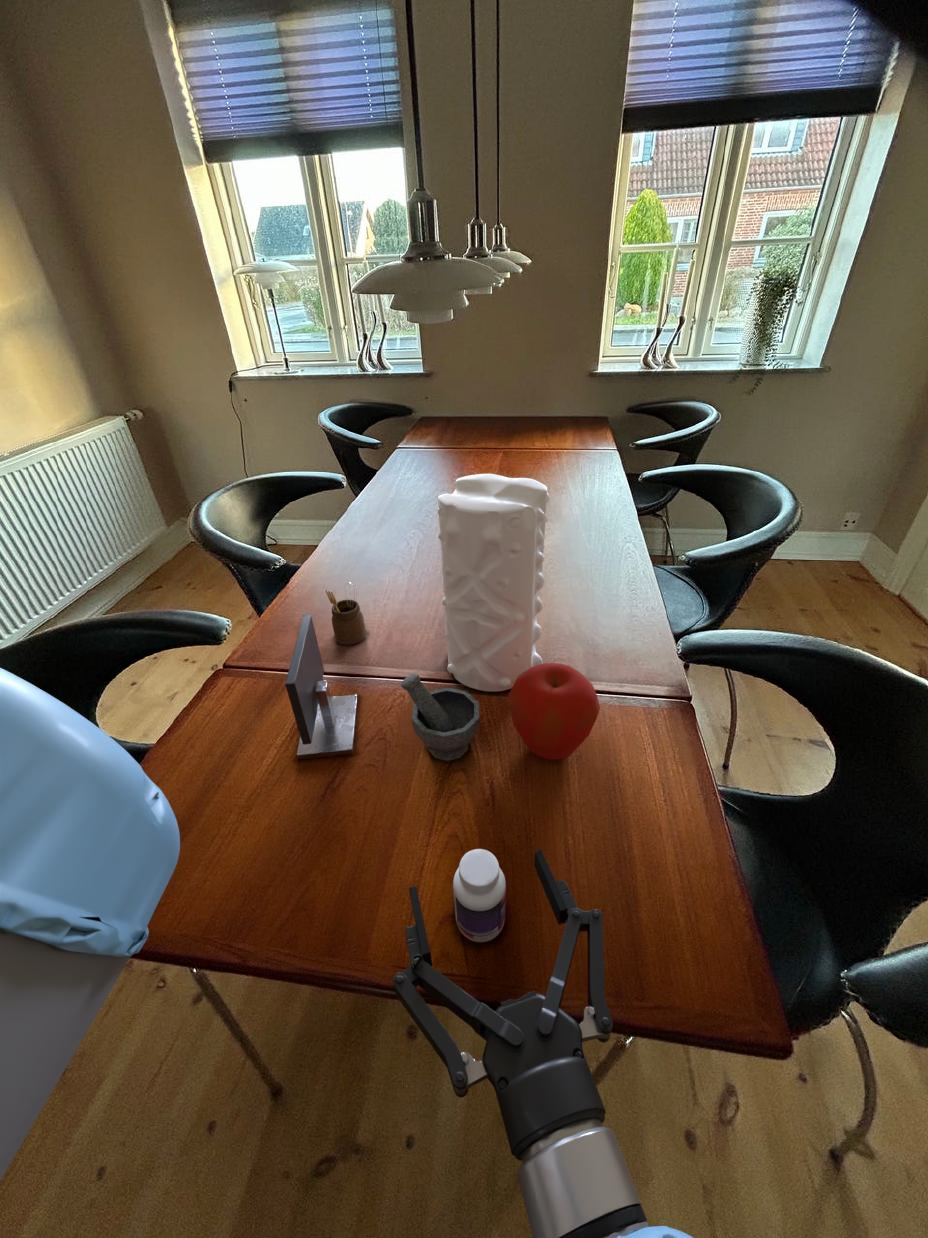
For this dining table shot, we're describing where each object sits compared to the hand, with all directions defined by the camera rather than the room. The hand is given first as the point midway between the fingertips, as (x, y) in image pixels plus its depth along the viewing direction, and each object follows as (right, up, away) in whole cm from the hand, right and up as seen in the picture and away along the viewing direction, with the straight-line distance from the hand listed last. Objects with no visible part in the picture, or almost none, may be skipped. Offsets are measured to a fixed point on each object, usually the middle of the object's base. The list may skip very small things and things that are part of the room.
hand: (476, 874), depth 56 cm
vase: (+4, +19, +39) cm, 43 cm away
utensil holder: (-23, +23, +47) cm, 57 cm away
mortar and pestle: (-4, +8, +23) cm, 25 cm away
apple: (+11, +8, +22) cm, 26 cm away
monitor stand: (-23, +10, +27) cm, 37 cm away
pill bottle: (0, -6, +2) cm, 6 cm away
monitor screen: (-24, +14, +24) cm, 37 cm away
